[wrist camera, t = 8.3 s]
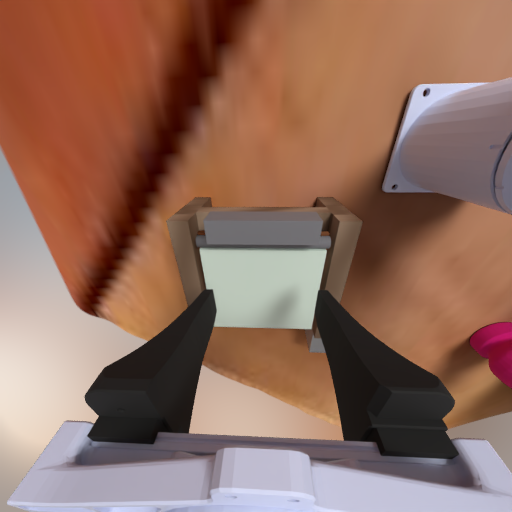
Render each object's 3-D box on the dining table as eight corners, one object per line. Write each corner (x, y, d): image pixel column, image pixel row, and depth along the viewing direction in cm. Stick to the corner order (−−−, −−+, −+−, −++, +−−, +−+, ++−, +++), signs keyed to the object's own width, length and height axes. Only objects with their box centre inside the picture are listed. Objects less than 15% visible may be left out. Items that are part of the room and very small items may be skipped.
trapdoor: (332, 211, 14) (341, 221, 13) (311, 321, 20) (315, 337, 19) (195, 211, 15) (185, 220, 13) (213, 318, 21) (208, 334, 19)
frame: (333, 197, 20) (362, 221, 14) (315, 293, 26) (329, 338, 20) (195, 197, 20) (166, 220, 14) (211, 291, 27) (195, 334, 21)
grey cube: (339, 303, 27) (351, 330, 23) (333, 325, 29) (343, 353, 26) (307, 302, 27) (313, 329, 23) (303, 324, 30) (309, 352, 26)
